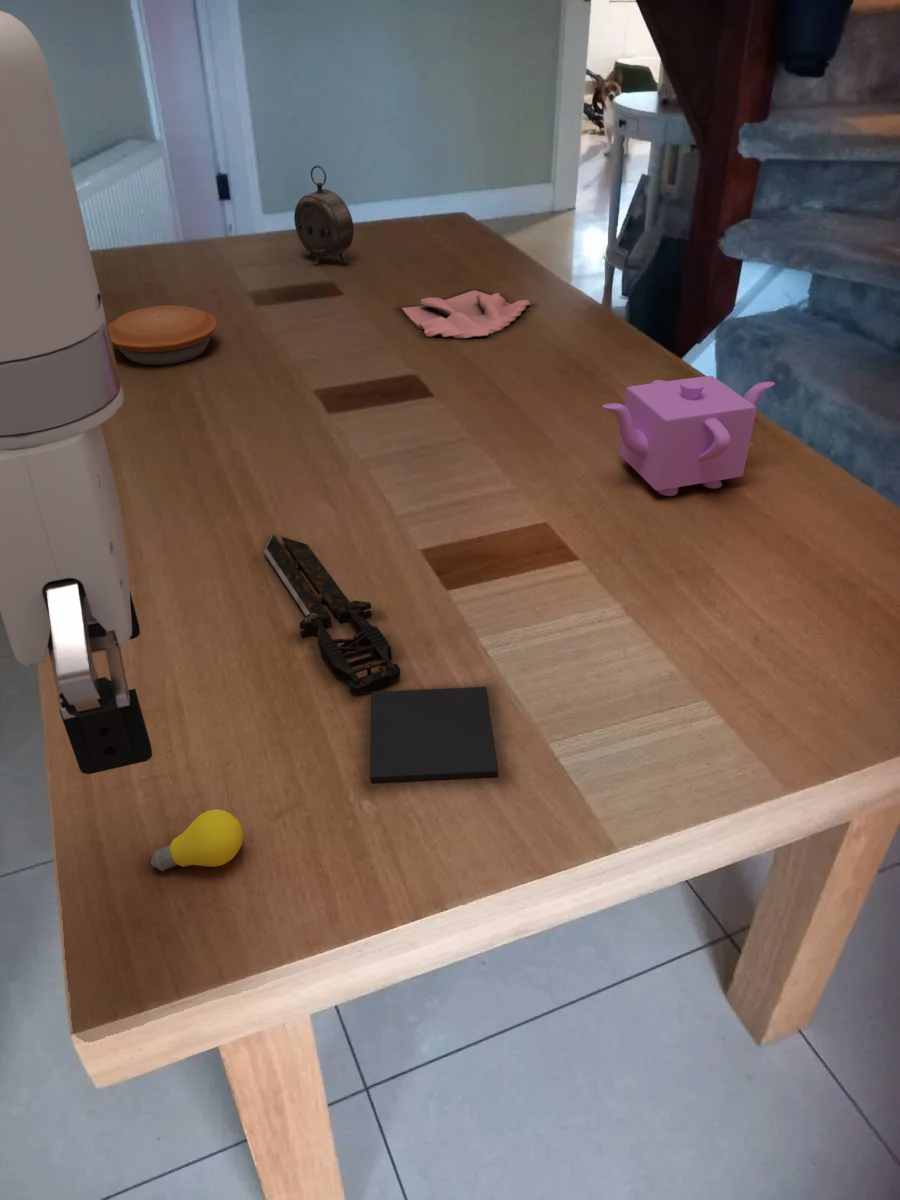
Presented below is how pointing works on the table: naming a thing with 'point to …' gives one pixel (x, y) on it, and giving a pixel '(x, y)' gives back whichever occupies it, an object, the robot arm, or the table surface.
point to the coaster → (431, 735)
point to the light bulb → (203, 842)
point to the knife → (320, 618)
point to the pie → (162, 334)
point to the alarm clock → (323, 223)
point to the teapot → (686, 431)
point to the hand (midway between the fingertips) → (114, 696)
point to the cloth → (465, 315)
